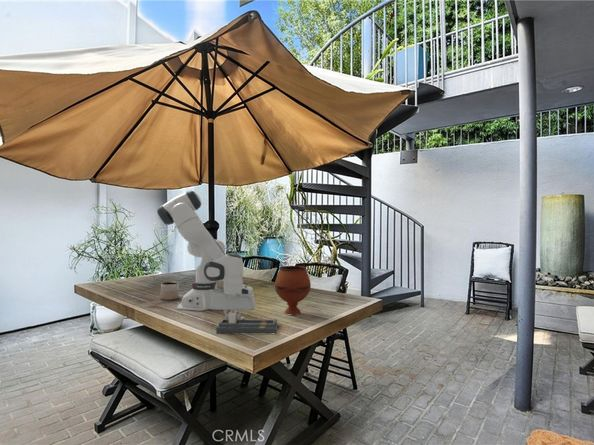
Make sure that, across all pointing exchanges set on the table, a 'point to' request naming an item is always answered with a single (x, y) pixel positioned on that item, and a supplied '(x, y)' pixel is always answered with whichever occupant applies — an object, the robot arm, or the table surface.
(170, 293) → the planter
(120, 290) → the table surface
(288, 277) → the terracotta clay pot
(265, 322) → the console
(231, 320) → the fader cap
